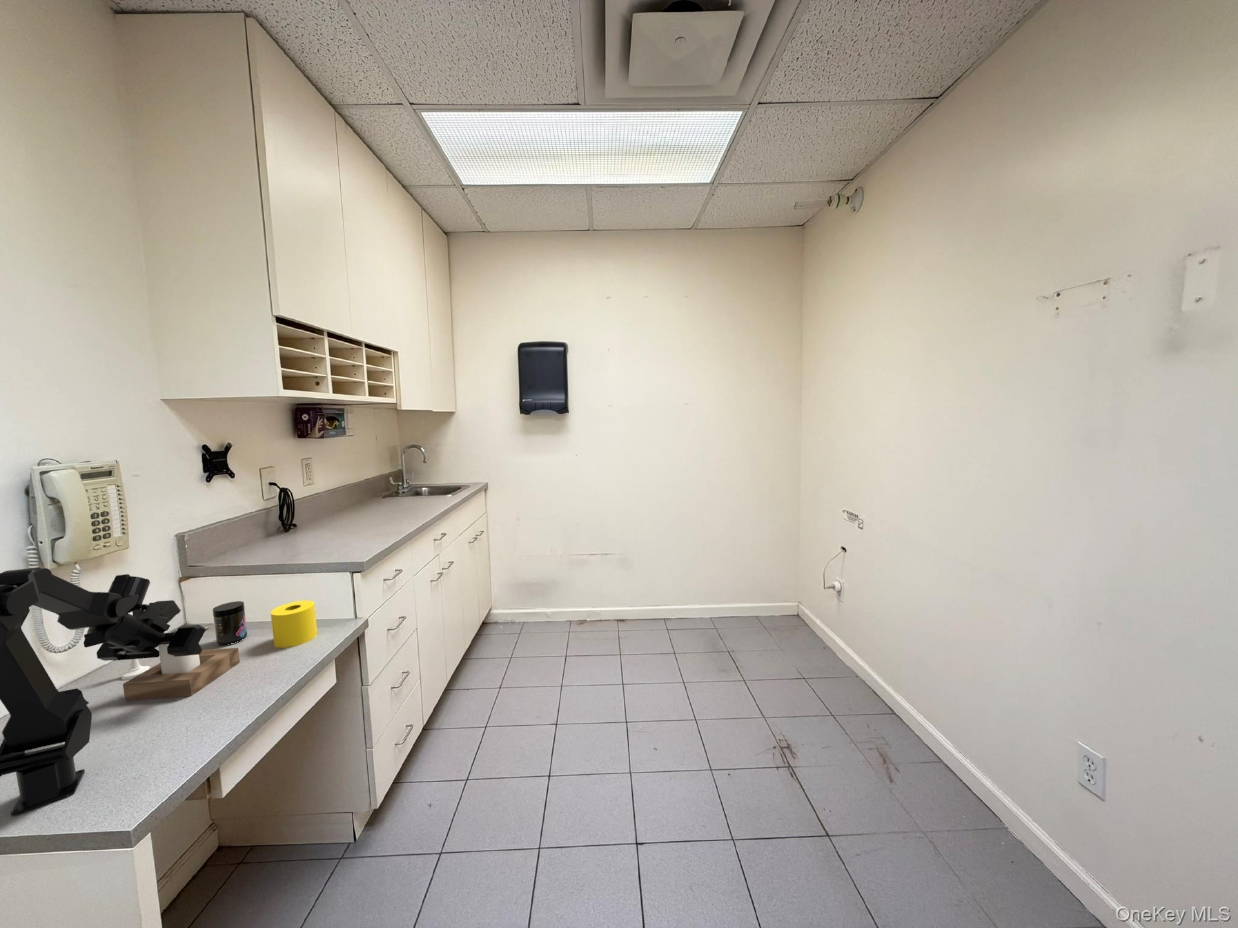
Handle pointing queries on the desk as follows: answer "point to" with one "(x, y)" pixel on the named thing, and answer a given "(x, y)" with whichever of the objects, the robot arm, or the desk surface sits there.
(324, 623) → the desk surface
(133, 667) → the chess piece
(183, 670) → the can
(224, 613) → the supplement container
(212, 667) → the bored block
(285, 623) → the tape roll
